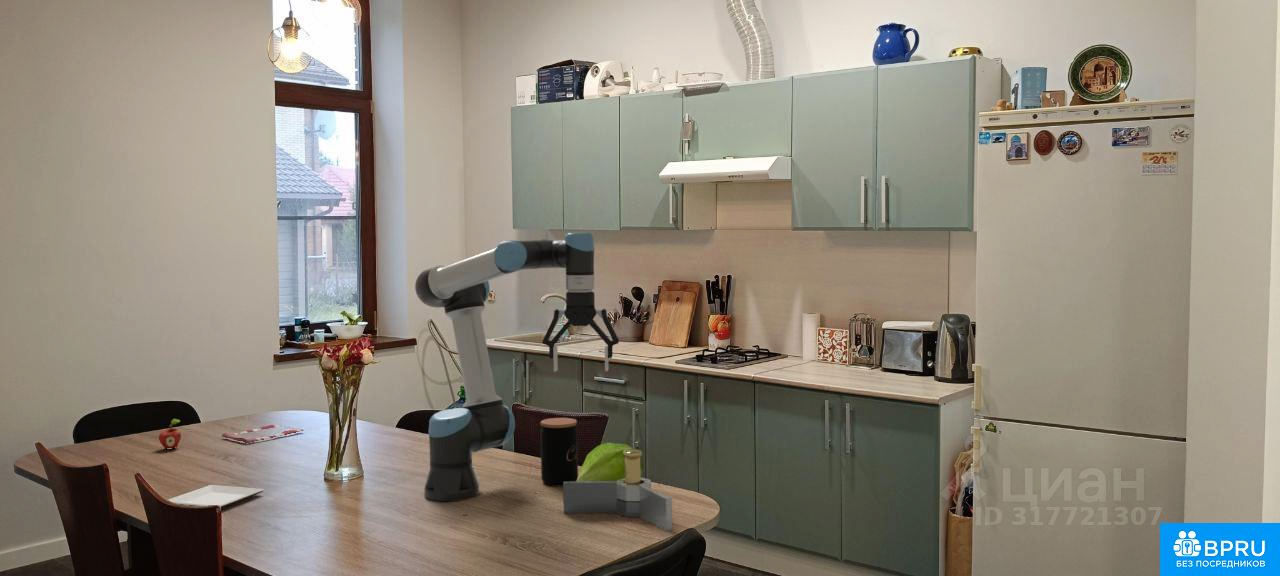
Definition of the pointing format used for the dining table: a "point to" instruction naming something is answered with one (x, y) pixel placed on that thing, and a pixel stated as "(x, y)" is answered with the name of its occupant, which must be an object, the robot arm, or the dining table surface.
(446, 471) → the robot arm
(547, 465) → the coffee jar
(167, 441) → the apple
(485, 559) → the dining table surface
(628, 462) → the pin
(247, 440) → the dish towel
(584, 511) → the hinge
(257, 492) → the plate
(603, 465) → the lettuce
